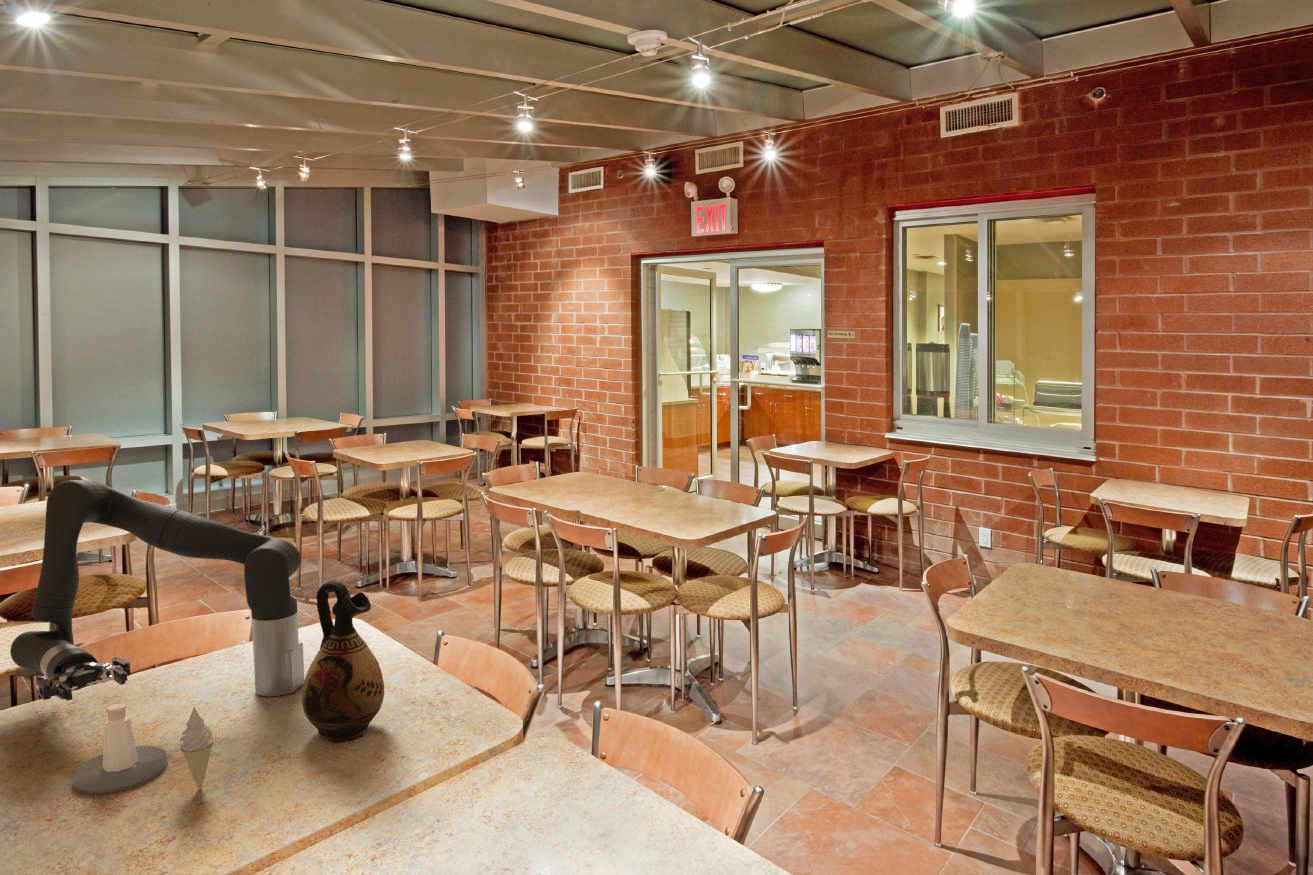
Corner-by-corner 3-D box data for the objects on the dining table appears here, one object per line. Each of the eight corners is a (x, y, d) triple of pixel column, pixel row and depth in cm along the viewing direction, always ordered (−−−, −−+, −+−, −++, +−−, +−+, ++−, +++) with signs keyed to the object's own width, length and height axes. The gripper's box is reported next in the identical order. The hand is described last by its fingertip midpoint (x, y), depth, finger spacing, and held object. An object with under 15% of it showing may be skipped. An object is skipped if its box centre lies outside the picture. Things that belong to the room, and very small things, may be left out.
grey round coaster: (183, 753, 151) (183, 745, 151) (135, 794, 137) (134, 786, 137) (109, 752, 151) (109, 745, 151) (53, 793, 137) (53, 785, 137)
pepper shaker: (145, 759, 146) (141, 701, 145) (117, 774, 141) (113, 714, 140) (123, 755, 148) (119, 697, 146) (94, 769, 142) (90, 710, 141)
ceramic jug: (402, 721, 164) (397, 579, 161) (344, 756, 150) (337, 601, 147) (341, 705, 171) (335, 569, 168) (279, 737, 157) (272, 589, 154)
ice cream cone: (191, 781, 141) (186, 700, 140) (221, 780, 142) (216, 699, 140) (177, 797, 136) (171, 713, 135) (208, 796, 137) (203, 712, 135)
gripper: (22, 659, 154) (48, 680, 144) (108, 637, 165) (138, 655, 155) (26, 696, 155) (53, 720, 145) (111, 672, 166) (141, 692, 156)
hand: (97, 686), depth 150 cm, fingers open, 8 cm apart
